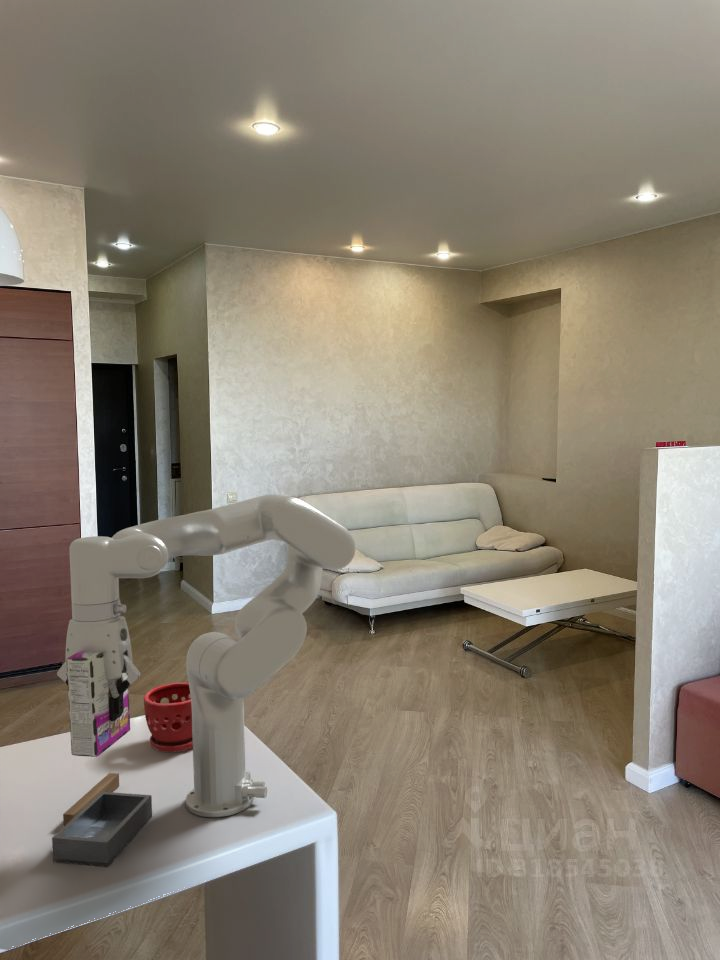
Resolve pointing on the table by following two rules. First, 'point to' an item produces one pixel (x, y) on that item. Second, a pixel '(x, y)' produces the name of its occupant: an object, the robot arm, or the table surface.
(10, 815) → the table surface
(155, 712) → the plant pot
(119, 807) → the keeper
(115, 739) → the candy bar box
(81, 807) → the door edge rail
